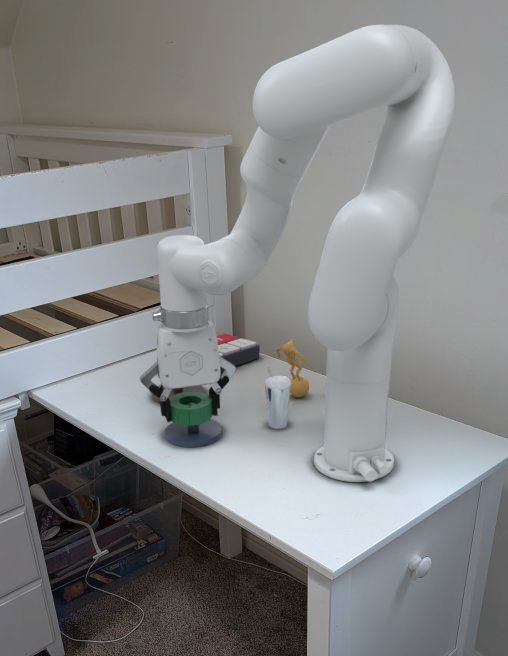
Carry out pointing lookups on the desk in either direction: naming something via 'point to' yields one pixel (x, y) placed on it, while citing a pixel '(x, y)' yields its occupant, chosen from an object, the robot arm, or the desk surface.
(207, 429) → the slate peg
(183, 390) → the walnut peg
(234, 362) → the calculator
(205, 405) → the ring
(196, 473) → the desk surface
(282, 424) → the milkshake
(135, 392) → the desk surface
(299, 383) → the figurine
